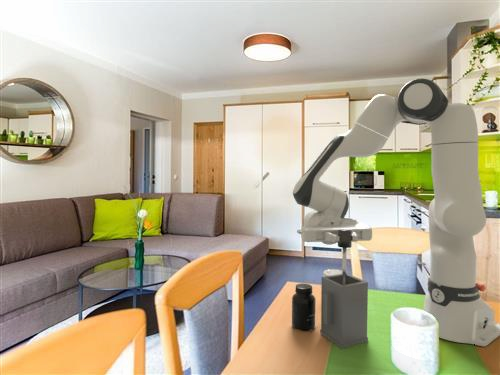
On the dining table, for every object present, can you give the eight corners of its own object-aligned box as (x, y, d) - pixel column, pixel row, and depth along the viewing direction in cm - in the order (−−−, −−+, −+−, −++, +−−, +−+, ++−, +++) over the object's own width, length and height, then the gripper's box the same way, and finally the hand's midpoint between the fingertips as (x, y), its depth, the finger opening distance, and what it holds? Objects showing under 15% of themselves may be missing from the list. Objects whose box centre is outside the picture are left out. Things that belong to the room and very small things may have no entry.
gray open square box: (345, 326, 96) (346, 272, 95) (368, 341, 88) (369, 282, 87) (314, 334, 92) (315, 277, 91) (335, 350, 83) (336, 288, 83)
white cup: (328, 294, 121) (328, 267, 120) (349, 299, 116) (350, 271, 115) (319, 301, 114) (319, 273, 114) (341, 307, 110) (342, 277, 109)
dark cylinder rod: (345, 286, 93) (346, 227, 93) (360, 293, 88) (361, 231, 87) (328, 290, 91) (328, 229, 90) (342, 297, 86) (343, 233, 85)
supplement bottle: (315, 332, 92) (315, 291, 92) (290, 330, 94) (291, 289, 93) (315, 321, 99) (315, 282, 99) (292, 319, 101) (292, 281, 100)
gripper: (295, 220, 100) (308, 228, 87) (359, 218, 102) (382, 226, 89) (295, 240, 101) (308, 251, 87) (359, 238, 103) (381, 249, 89)
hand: (346, 238), depth 88 cm, fingers closed on dark cylinder rod, 4 cm apart
